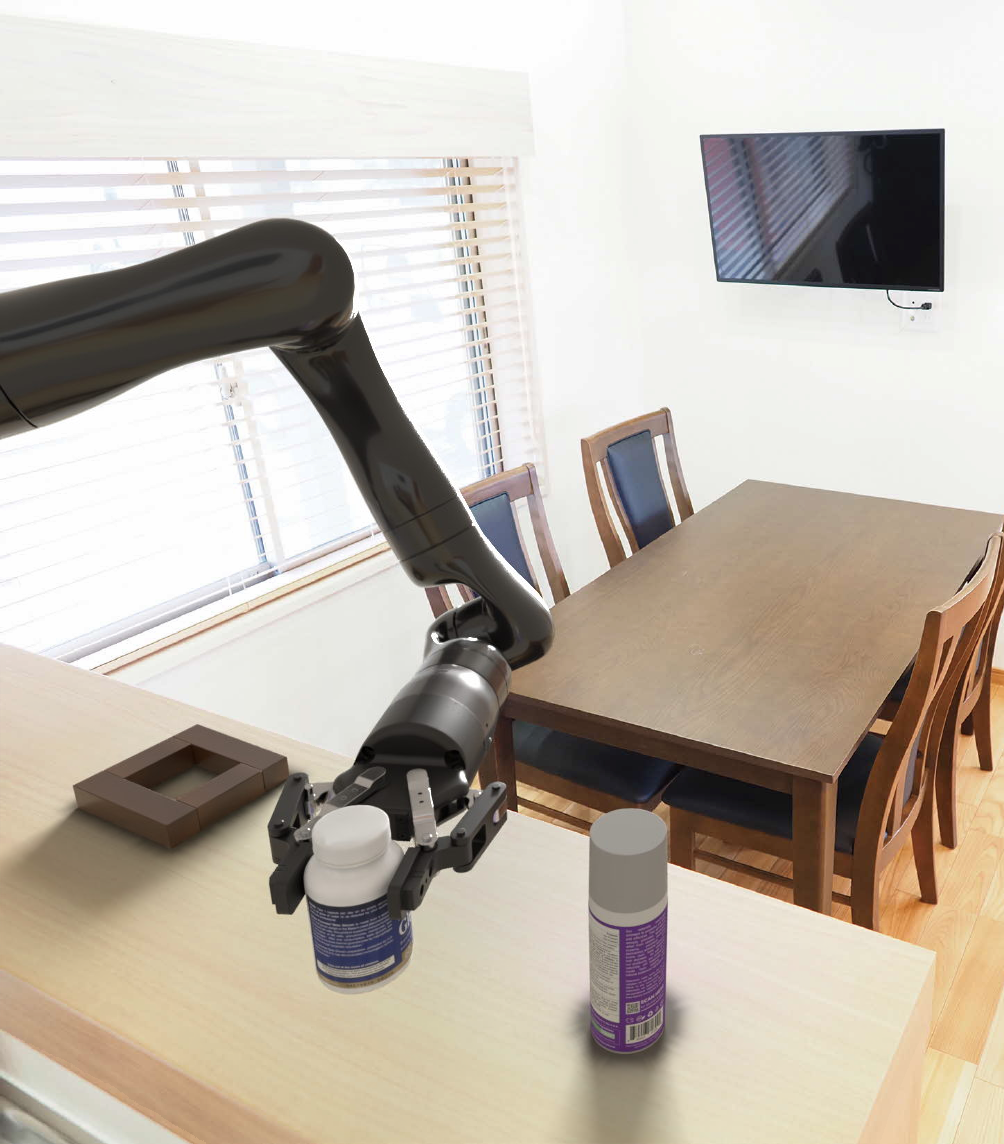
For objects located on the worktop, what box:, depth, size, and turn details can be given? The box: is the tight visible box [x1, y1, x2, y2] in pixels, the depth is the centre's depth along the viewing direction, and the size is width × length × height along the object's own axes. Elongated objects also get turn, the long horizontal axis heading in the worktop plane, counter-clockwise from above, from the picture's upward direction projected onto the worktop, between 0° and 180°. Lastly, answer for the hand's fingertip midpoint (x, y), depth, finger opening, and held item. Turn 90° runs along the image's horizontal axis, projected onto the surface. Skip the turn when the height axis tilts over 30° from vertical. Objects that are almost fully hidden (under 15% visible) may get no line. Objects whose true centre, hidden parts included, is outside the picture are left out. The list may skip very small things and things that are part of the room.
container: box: [587, 808, 669, 1055], centre depth 58 cm, size 5×5×15 cm
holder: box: [72, 723, 291, 850], centre depth 80 cm, size 11×11×2 cm
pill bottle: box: [303, 805, 414, 996], centre depth 55 cm, size 5×5×10 cm
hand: (338, 904), depth 52 cm, fingers closed on pill bottle, 5 cm apart
